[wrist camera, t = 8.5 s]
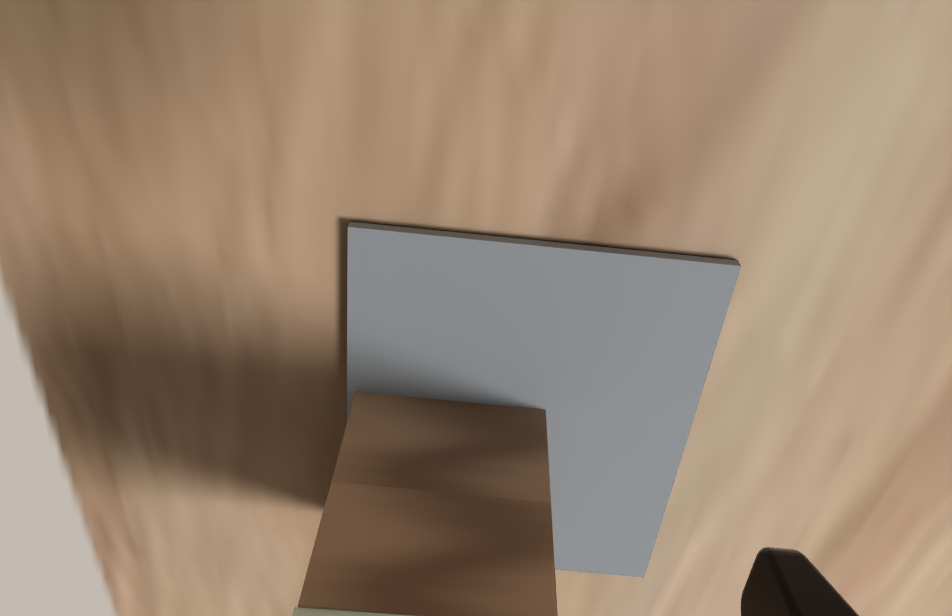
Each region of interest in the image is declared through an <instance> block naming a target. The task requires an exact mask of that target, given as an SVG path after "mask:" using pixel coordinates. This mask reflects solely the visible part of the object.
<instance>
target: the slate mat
mask: <svg viewBox="0 0 952 616" xmlns="http://www.w3.org/2000/svg"><path fill="white" fill-rule="evenodd" d="M740 267H741V265H740V263H739V261H738V260H729V259H719V258H709V257H699V256H689V255H679V254H669V253H659V252H649V251H639V250H629V249H619V248H609V247H599V246H589V245H579V244H569V243H559V242H549V241H539V240H529V239H519V238H509V237H498V236H488V235H478V234H468V233H458V232H448V231H438V230H428V229H418V228H408V227H398V226H388V225H378V224H368V223H358V222H349V225H348V259H347V421H348V417H349V414H350V410H351V406H352V403H353V399H354V395H355V391H356V392H366V393H376V394H387V395H397V396H408V397H418V398H428V399H439V400H449V401H460V402H470V403H480V404H491V405H501V406H512V407H522V408H532V409H543V410H546V422H547V440H548V457H549V475H550V493H551V510H552V528H553V545H554V563H555V569H557V570H568V571H579V572H589V573H600V574H611V575H622V576H633V577H643V578H644V576H645V573H646V569H647V566H648V563H649V560H650V557H651V553H652V550H653V547H654V544H655V541H656V537H657V534H658V531H659V528H660V524H661V521H662V518H663V515H664V512H665V508H666V505H667V502H668V499H669V496H670V492H671V489H672V486H673V483H674V479H675V476H676V473H677V470H678V467H679V463H680V460H681V457H682V454H683V451H684V447H685V444H686V441H687V438H688V434H689V431H690V428H691V425H692V422H693V418H694V415H695V412H696V409H697V406H698V402H699V399H700V396H701V393H702V389H703V386H704V383H705V380H706V377H707V373H708V370H709V367H710V364H711V361H712V357H713V354H714V351H715V348H716V344H717V341H718V338H719V335H720V332H721V328H722V325H723V322H724V319H725V316H726V312H727V309H728V306H729V303H730V299H731V296H732V293H733V290H734V287H735V283H736V280H737V277H738V274H739V271H740Z"/></svg>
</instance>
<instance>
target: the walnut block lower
mask: <svg viewBox="0 0 952 616" xmlns="http://www.w3.org/2000/svg"><path fill="white" fill-rule="evenodd" d="M331 482H342V483H352V484H363V485H374V486H384V487H395V488H405V489H416V490H427V491H437V492H448V493H458V494H469V495H480V496H490V497H501V498H512V499H522V500H533V501H543V502H551V493H550V475H549V457H548V440H547V422H546V410H543V409H532V408H522V407H512V406H501V405H491V404H480V403H470V402H460V401H449V400H439V399H428V398H418V397H408V396H397V395H387V394H376V393H366V392H356V391H355V395H354V399H353V403H352V406H351V410H350V414H349V417H348V421H347V425H346V429H345V432H344V436H343V440H342V444H341V447H340V451H339V455H338V458H337V462H336V466H335V470H334V473H333V477H332V481H331Z"/></svg>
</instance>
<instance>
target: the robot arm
mask: <svg viewBox="0 0 952 616" xmlns="http://www.w3.org/2000/svg"><path fill="white" fill-rule="evenodd" d="M741 616H859V615H858V614H857V613H856V612H855V611H854V610H853V608H852V607H851V606H850V605H849V604H848V603H847V602H846V601H845V600H844V598H843V597H842V596H841V595H840V594H839V593H838V592H837V591H836V590H835V589H834V587H833V586H832V585H831V584H830V583H829V582H828V581H827V580H826V579H825V577H824V576H823V575H822V574H821V573H820V572H819V571H818V570H817V569H816V567H815V566H814V565H813V564H812V563H811V562H810V561H809V560H808V559H807V558H806V557H805V556H804V555H803V554H802V553H800V552H799V551H797V550H793V549H782V548H770V547H766V548H763V549H761V550H760V551H759V553H758V554H757V556H756V559H755V562H754V564H753V567H752V569H751V572H750V574H749V577H748V580H747V582H746V585H745V587H744V590H743V593H742V598H741Z"/></svg>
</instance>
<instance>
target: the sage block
mask: <svg viewBox="0 0 952 616" xmlns="http://www.w3.org/2000/svg"><path fill="white" fill-rule="evenodd" d="M293 616H413V615H399V614H384V613H370V612H356V611H342V610H327V609H313V608H299V607H295V608H294V612H293Z"/></svg>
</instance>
